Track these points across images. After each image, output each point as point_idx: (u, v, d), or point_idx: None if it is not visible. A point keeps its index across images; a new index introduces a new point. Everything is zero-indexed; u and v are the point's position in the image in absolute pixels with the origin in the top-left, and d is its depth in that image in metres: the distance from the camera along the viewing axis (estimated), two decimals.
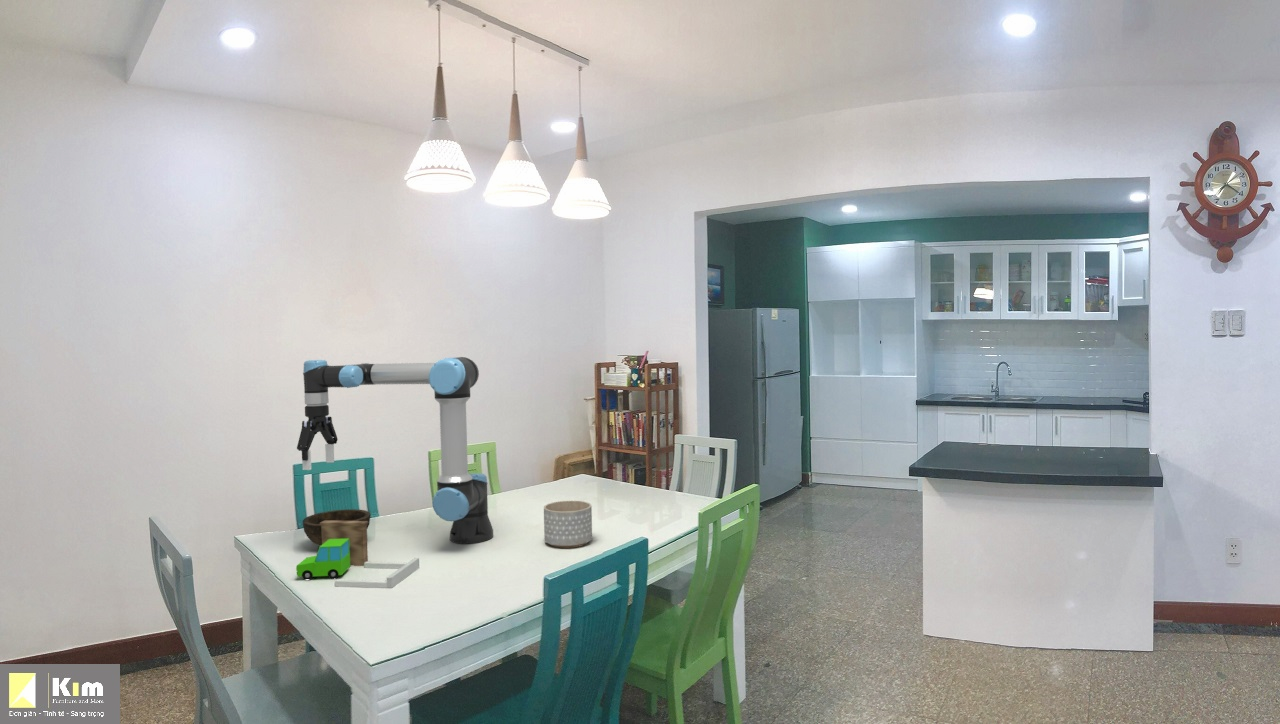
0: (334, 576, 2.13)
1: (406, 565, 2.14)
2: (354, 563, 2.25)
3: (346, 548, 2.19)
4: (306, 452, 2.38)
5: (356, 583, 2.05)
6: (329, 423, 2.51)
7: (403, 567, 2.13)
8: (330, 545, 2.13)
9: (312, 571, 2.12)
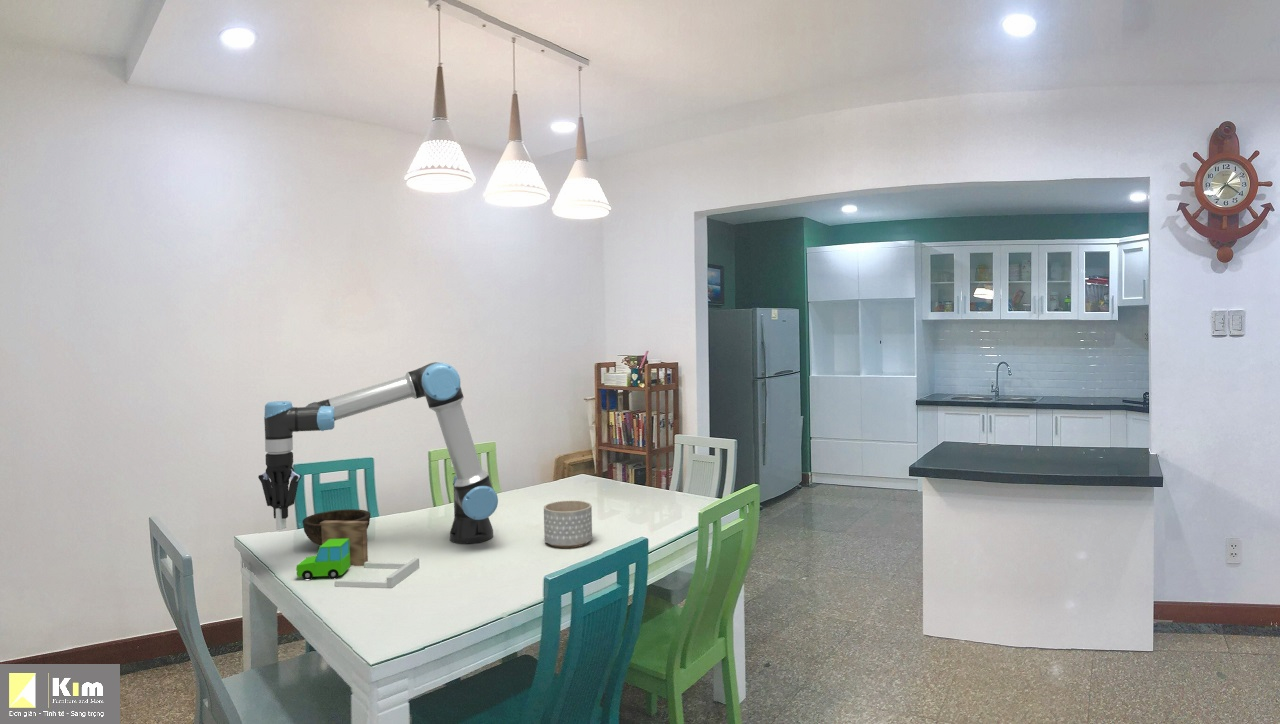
0: (334, 576, 2.13)
1: (406, 565, 2.14)
2: (354, 563, 2.25)
3: (346, 548, 2.19)
4: (275, 509, 2.17)
5: (356, 583, 2.05)
6: None
7: (403, 567, 2.13)
8: (330, 545, 2.13)
9: (312, 571, 2.12)
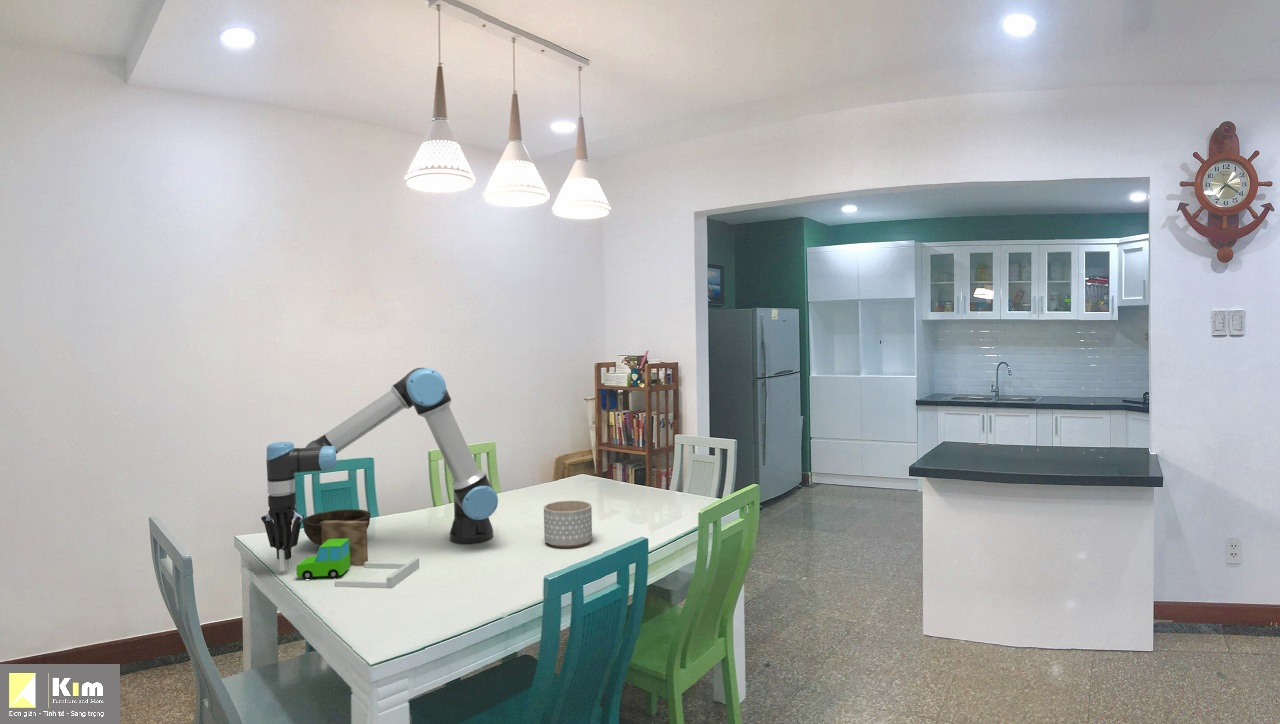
0: (334, 576, 2.13)
1: (406, 565, 2.14)
2: (354, 563, 2.25)
3: (346, 548, 2.19)
4: (278, 550, 2.17)
5: (356, 583, 2.05)
6: None
7: (403, 567, 2.13)
8: (330, 545, 2.13)
9: (312, 571, 2.12)
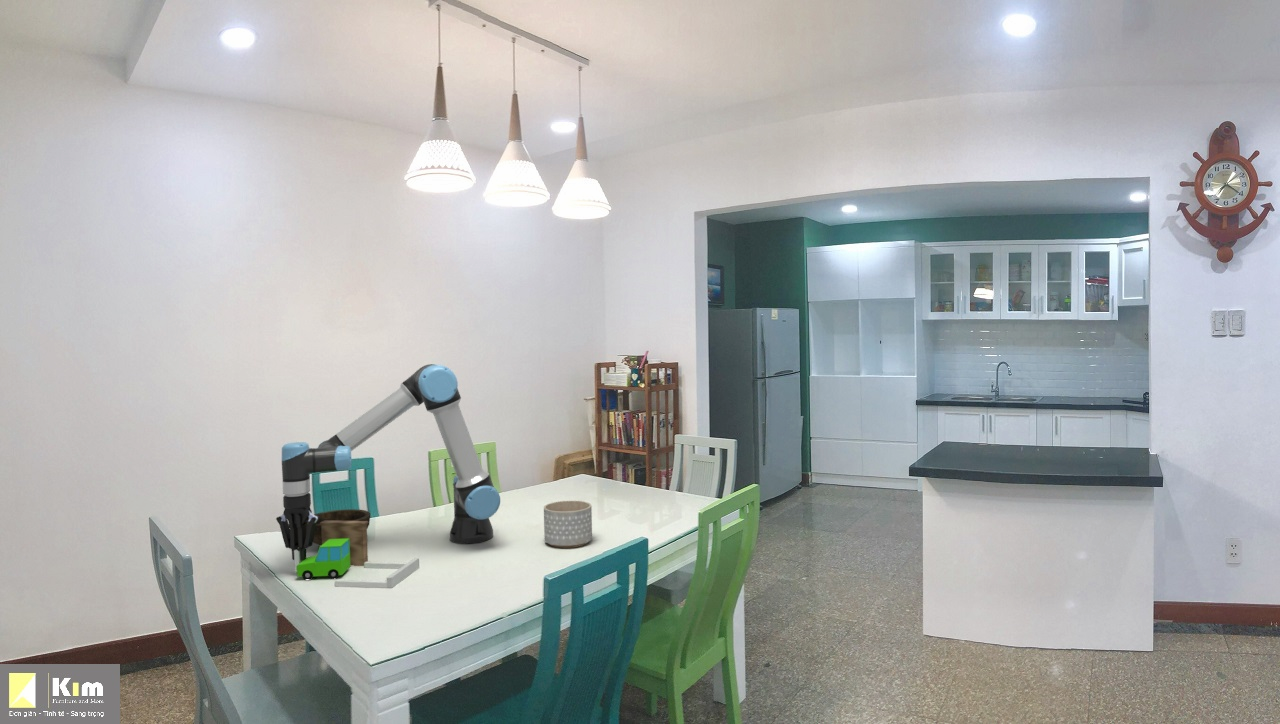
0: (334, 576, 2.13)
1: (406, 565, 2.14)
2: (354, 563, 2.25)
3: (347, 548, 2.19)
4: (293, 551, 2.17)
5: (356, 583, 2.05)
6: None
7: (403, 567, 2.13)
8: (330, 545, 2.13)
9: (312, 571, 2.12)
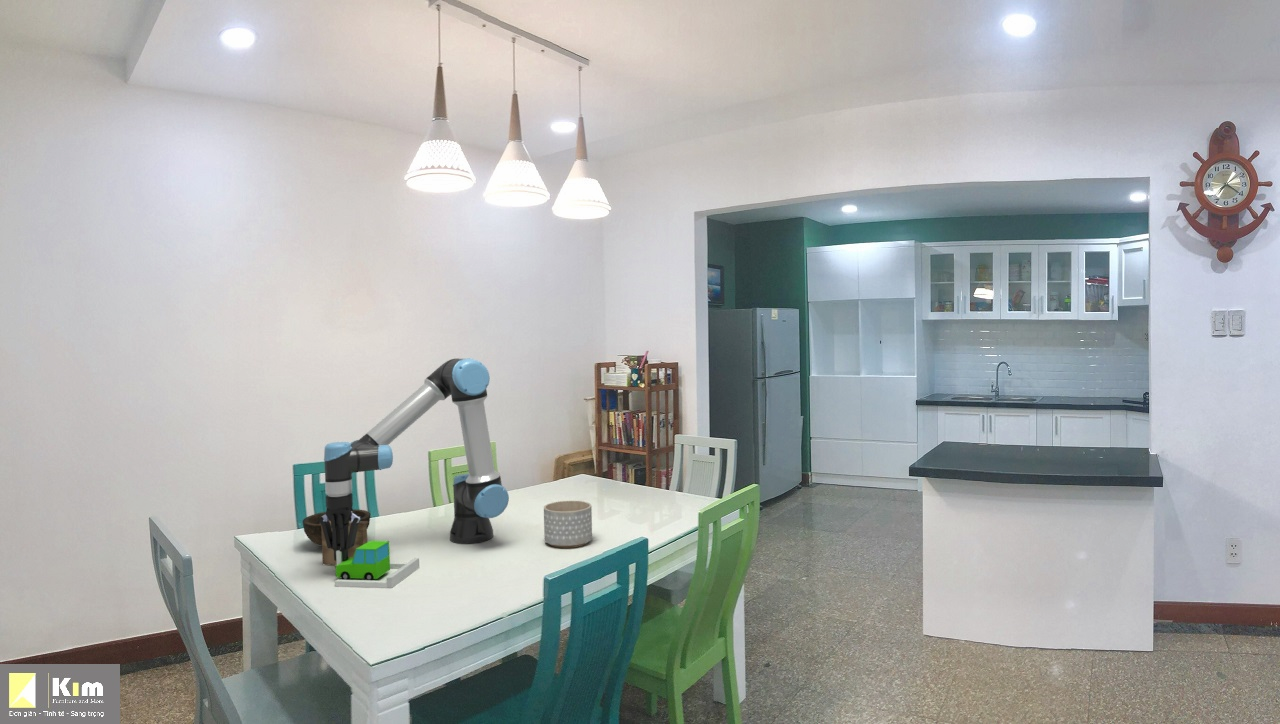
0: (370, 579, 2.09)
1: (406, 565, 2.14)
2: None
3: (385, 551, 2.14)
4: (335, 552, 2.15)
5: (356, 583, 2.05)
6: None
7: (403, 567, 2.13)
8: (366, 547, 2.10)
9: (349, 573, 2.10)
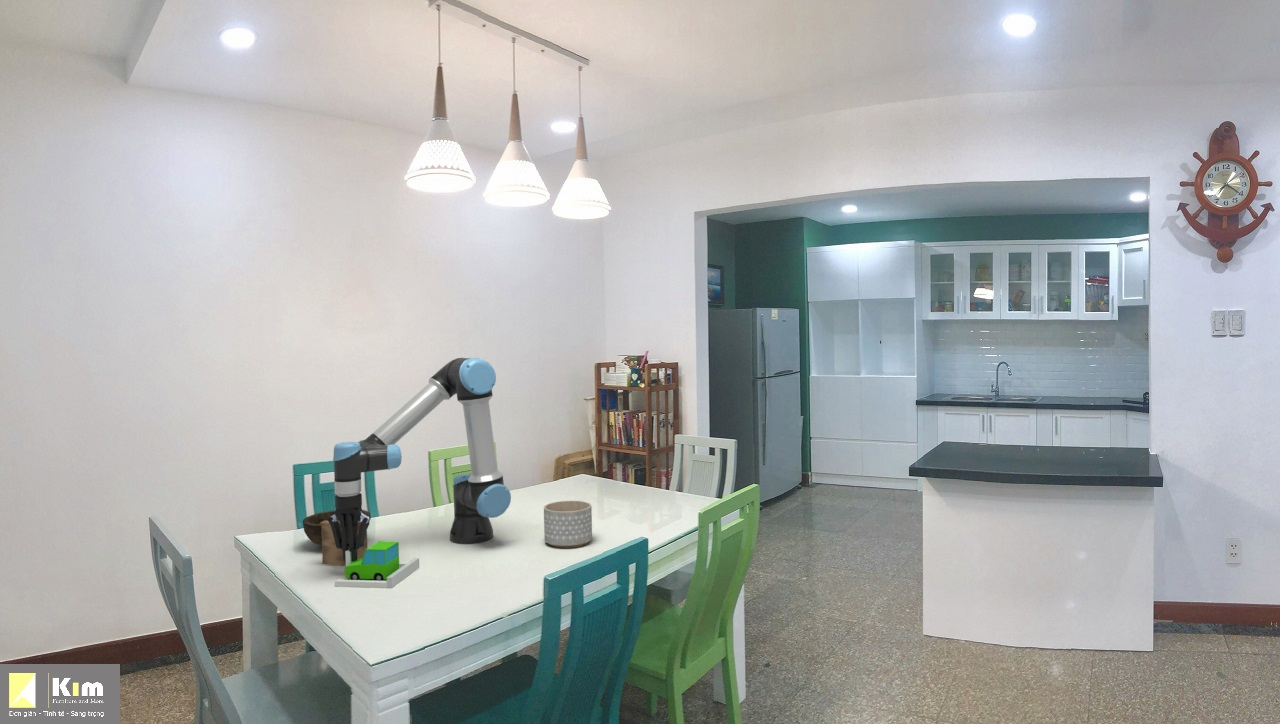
0: (379, 580, 2.09)
1: (406, 565, 2.14)
2: None
3: (394, 551, 2.14)
4: (344, 552, 2.14)
5: (356, 583, 2.05)
6: None
7: (403, 567, 2.13)
8: (376, 548, 2.09)
9: (359, 573, 2.09)
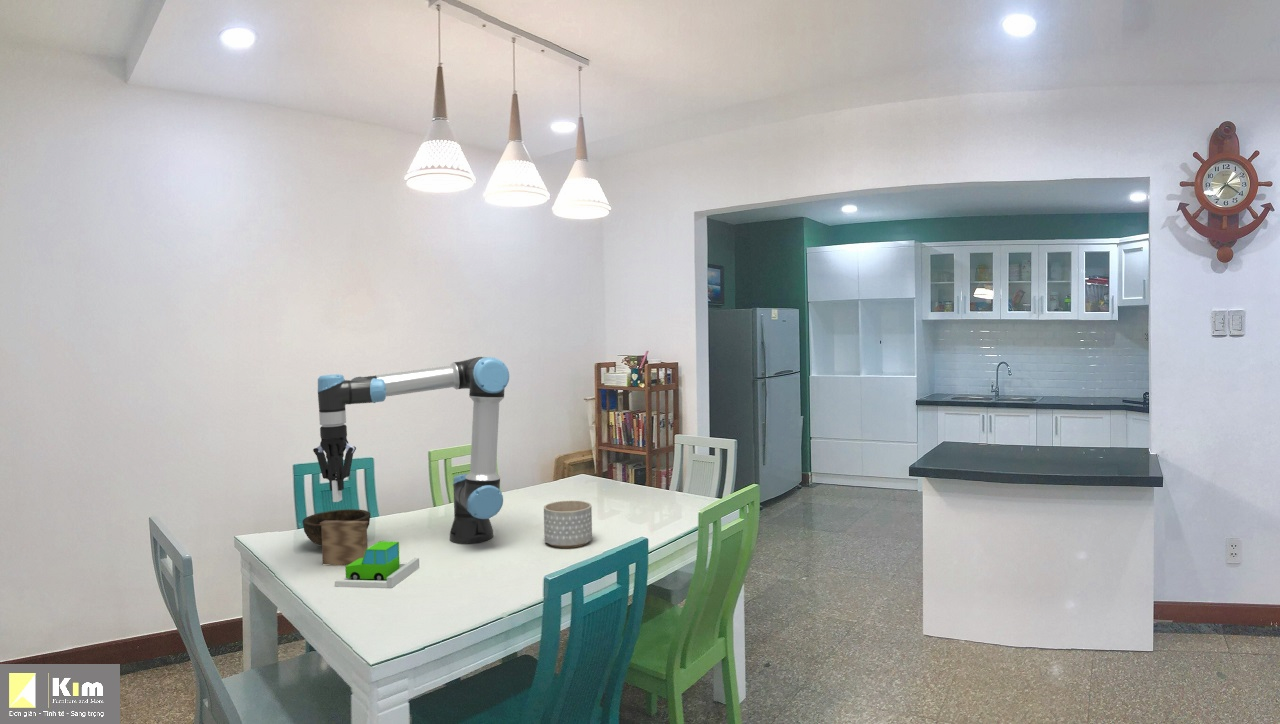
0: (380, 580, 2.09)
1: (406, 565, 2.14)
2: None
3: (395, 551, 2.14)
4: (330, 482, 2.19)
5: (356, 583, 2.05)
6: None
7: (403, 567, 2.13)
8: (377, 548, 2.09)
9: (359, 573, 2.09)
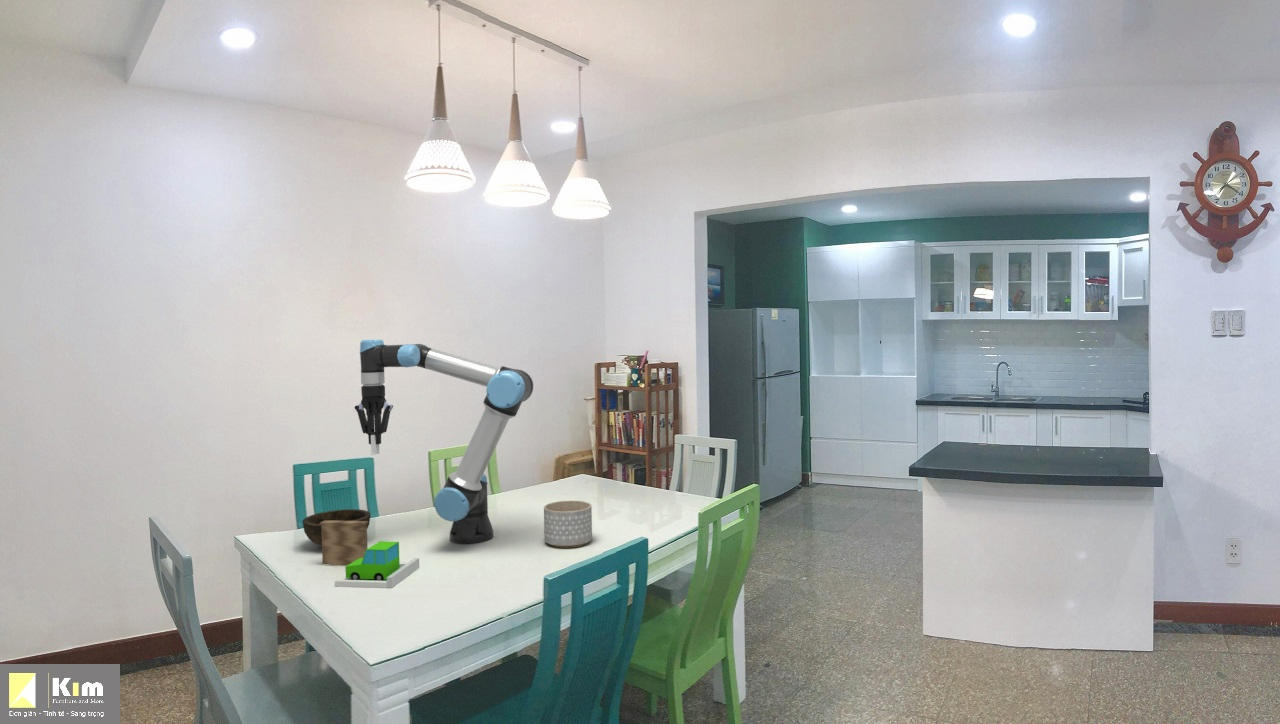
0: (380, 580, 2.09)
1: (406, 565, 2.14)
2: None
3: (395, 551, 2.14)
4: (369, 436, 2.42)
5: (356, 583, 2.05)
6: None
7: (403, 567, 2.13)
8: (377, 548, 2.09)
9: (359, 573, 2.09)
